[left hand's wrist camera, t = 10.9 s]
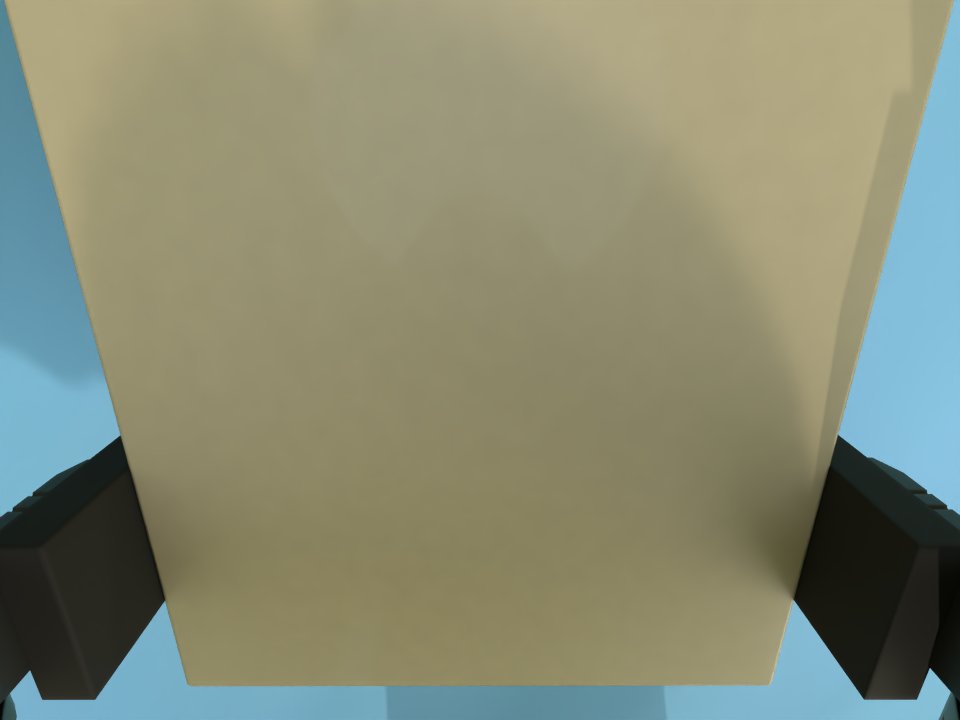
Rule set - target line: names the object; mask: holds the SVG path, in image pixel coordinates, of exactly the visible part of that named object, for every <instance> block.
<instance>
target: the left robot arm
mask: <svg viewBox="0 0 960 720" xmlns="http://www.w3.org/2000/svg"><path fill="white" fill-rule="evenodd" d="M164 601H165V598H164V595H163V591H162V587H161V584H160V580H159V576H158V572H157V569H156V565H155V561H154V557H153V554H152V550H151V546H150V543H149V539H148V535H147V531H146V528H145V524H144V520H143V516H142V513H141V509H140V505H139V502H138V498H137V494H136V490H135V487H134V483H133V479H132V475H131V472H130V468H129V464H128V461H127V457H126V453H125V449H124V446H123V442H122V438H121V435H120V436H119V437H118V438H117V439H115V440H114V441H113V442H112V443H110V444H109V445H108V446H106V447H105V448H104V449H103V450H101V451H100V452H99V453H97V454H96V455H95V456H94V457H92V458H91V459H90V460H86V461H84V462H82V463H80V464H77V465H75V466H73V467H71V468H69V469H67V470H65V471H63V472H61V473H59V474H57V475H56V476H54V477H53V478H52V479H50V480H49V481H48V482H46V483H45V484H44V485H42V486H41V487H40V488H38V489H37V490H36V491H34V492H33V496H28V497H27V498H25V499H24V500H23V501H21V502H20V503H19V504H17V505H16V506H15V507H13V511H12V512H7V513H5V514H4V515H3V516H1V517H0V720H16V717H17V715H16V710H15V705H14V702H13V700H12V698H11V695H10V692H11V691H12V690H13V689H14V688H15V687H16V686H17V684H18V683H19V682H20V681H21V680H22V679H23V677H24V676H25V675H26V674H27V673H28V672H29V671H31V673H32V676H33V678H34V681H35V683H36V685H37V688H38V690H39V693H40V695H41V698H42V700H95V699H96V698H97V696H98V695H99V693H100V692H101V691H102V689H103V688H104V686H105V685H106V684H107V682H108V681H109V679H110V678H111V676H112V675H113V674H114V672H115V671H116V669H117V668H118V666H119V665H120V664H121V662H122V661H123V659H124V658H125V657H126V655H127V654H128V652H129V651H130V649H131V648H132V647H133V645H134V644H135V642H136V641H137V640H138V638H139V637H140V635H141V634H142V632H143V631H144V630H145V628H146V627H147V625H148V624H149V622H150V621H151V620H152V618H153V617H154V615H155V614H156V613H157V611H158V610H159V608H160V607H161V605H162V604H163V603H164ZM794 601H795V602H796V604H797V605H798V606H799V608H800V609H801V611H802V612H803V613H804V615H805V616H806V618H807V619H808V621H809V622H810V623H811V625H812V626H813V628H814V629H815V631H816V632H817V633H818V635H819V636H820V638H821V639H822V640H823V642H824V643H825V645H826V646H827V648H828V649H829V650H830V652H831V653H832V655H833V656H834V657H835V659H836V660H837V662H838V663H839V665H840V666H841V667H842V669H843V670H844V672H845V673H846V675H847V676H848V677H849V679H850V680H851V682H852V683H853V684H854V686H855V687H856V689H857V690H858V692H859V693H860V694H861V696H862V697H863V699H864V700H917V698H918V695H919V693H920V691H921V688H922V686H923V683H924V681H925V678H926V676H927V674H928V671H929V669H930V668H931V669H932V671H933V672H934V673H935V674H936V675H937V676H938V677H939V679H940V680H941V681H942V682H943V683H944V684H945V685H946V687H947V688H948V689H949V690H950V691H951V693H950V695H949V698H948V700H947V702H946V704H945V707H944V709H943V711H942V714H941V716H940V718H939V720H960V515H959V514H958V513H956V512H955V511H954V510H948V509H947V505H946V504H944V503H943V502H942V501H940V500H939V499H938V498H936V497H935V496H934V495H932V494H927V490H926V489H924V488H923V487H922V486H920V485H919V484H918V483H916V482H915V481H914V480H912V479H911V478H910V477H908V476H907V475H906V474H904V473H903V472H901V471H899V470H897V469H895V468H893V467H891V466H888V465H886V464H884V463H882V462H880V461H878V460H876V459H874V458H867V457H866V456H864V455H863V454H862V453H861V452H859V451H858V450H857V449H855V448H854V447H853V446H852V445H850V444H849V443H848V442H846V441H845V440H844V439H843V438H841V437H840V436H839V435H838V436H837V440H836V444H835V448H834V451H833V455H832V459H831V463H830V466H829V470H828V474H827V478H826V481H825V485H824V489H823V492H822V496H821V500H820V504H819V507H818V511H817V515H816V519H815V522H814V526H813V530H812V534H811V537H810V541H809V545H808V549H807V552H806V556H805V560H804V563H803V567H802V571H801V575H800V578H799V582H798V586H797V590H796V593H795V597H794Z"/></svg>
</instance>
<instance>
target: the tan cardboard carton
mask: <svg viewBox="0 0 960 720" xmlns="http://www.w3.org/2000/svg"><path fill="white" fill-rule="evenodd" d="M4 2H5V6H6V10H7V13H8V17H9V21H10V25H11V28H12V32H13V36H14V40H15V43H16V47H17V51H18V54H19V58H20V62H21V66H22V69H23V73H24V77H25V81H26V84H27V88H28V92H29V95H30V99H31V103H32V107H33V110H34V114H35V118H36V122H37V125H38V129H39V133H40V136H41V140H42V144H43V148H44V151H45V155H46V159H47V162H48V166H49V170H50V174H51V177H52V181H53V185H54V189H55V192H56V196H57V200H58V203H59V207H60V211H61V215H62V218H63V222H64V226H65V230H66V233H67V237H68V241H69V244H70V248H71V252H72V256H73V259H74V263H75V267H76V271H77V274H78V278H79V282H80V285H81V289H82V293H83V297H84V300H85V304H86V308H87V312H88V315H89V319H90V323H91V326H92V330H93V334H94V338H95V341H96V345H97V349H98V353H99V356H100V360H101V364H102V367H103V371H104V375H105V379H106V382H107V386H108V390H109V394H110V397H111V401H112V405H113V408H114V412H115V416H116V420H117V423H118V427H119V431H120V435H121V438H122V442H123V446H124V449H125V453H126V457H127V461H128V464H129V468H130V472H131V475H132V479H133V483H134V487H135V490H136V494H137V498H138V502H139V505H140V509H141V513H142V516H143V520H144V524H145V528H146V531H147V535H148V539H149V543H150V546H151V550H152V554H153V557H154V561H155V565H156V569H157V572H158V576H159V580H160V584H161V587H162V591H163V595H164V598H165V602H166V606H167V610H168V613H169V617H170V621H171V625H172V628H173V632H174V636H175V639H176V643H177V647H178V651H179V654H180V658H181V662H182V666H183V669H184V673H185V677H186V680H187V684H188V685H190V686H635V685H769V684H771V683H772V679H773V676H774V672H775V668H776V664H777V661H778V657H779V653H780V649H781V646H782V642H783V638H784V634H785V631H786V627H787V623H788V620H789V616H790V612H791V608H792V605H793V601H794V597H795V593H796V590H797V586H798V582H799V578H800V575H801V571H802V567H803V563H804V560H805V556H806V552H807V549H808V545H809V541H810V537H811V534H812V530H813V526H814V522H815V519H816V515H817V511H818V507H819V504H820V500H821V496H822V492H823V489H824V485H825V481H826V478H827V474H828V470H829V466H830V463H831V459H832V455H833V451H834V448H835V444H836V440H837V436H838V433H839V429H840V425H841V421H842V418H843V414H844V410H845V407H846V403H847V399H848V395H849V392H850V388H851V384H852V380H853V377H854V373H855V369H856V365H857V362H858V358H859V354H860V350H861V347H862V343H863V339H864V336H865V332H866V328H867V324H868V321H869V317H870V313H871V309H872V306H873V302H874V298H875V294H876V291H877V287H878V283H879V279H880V276H881V272H882V268H883V265H884V261H885V257H886V253H887V250H888V246H889V242H890V238H891V235H892V231H893V227H894V223H895V220H896V216H897V212H898V208H899V205H900V201H901V197H902V194H903V190H904V186H905V182H906V179H907V175H908V171H909V167H910V164H911V160H912V156H913V152H914V149H915V145H916V141H917V137H918V134H919V130H920V126H921V123H922V119H923V115H924V111H925V108H926V104H927V100H928V96H929V93H930V89H931V85H932V81H933V78H934V74H935V70H936V66H937V63H938V59H939V55H940V52H941V48H942V44H943V40H944V37H945V33H946V29H947V25H948V22H949V18H950V14H951V10H952V7H953V3H954V0H4Z"/></svg>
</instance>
